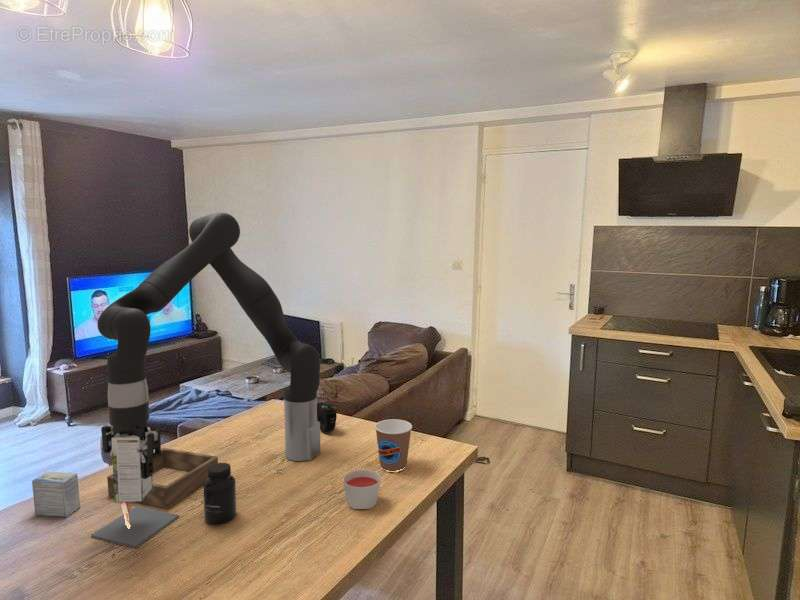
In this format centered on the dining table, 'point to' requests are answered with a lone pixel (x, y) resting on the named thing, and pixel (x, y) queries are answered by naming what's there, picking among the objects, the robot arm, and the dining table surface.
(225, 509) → the supplement bottle
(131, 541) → the mat
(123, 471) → the syrup box
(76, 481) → the medicine box
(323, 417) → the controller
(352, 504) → the candle
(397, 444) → the coffee cup
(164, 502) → the walnut crate
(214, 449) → the dining table surface
